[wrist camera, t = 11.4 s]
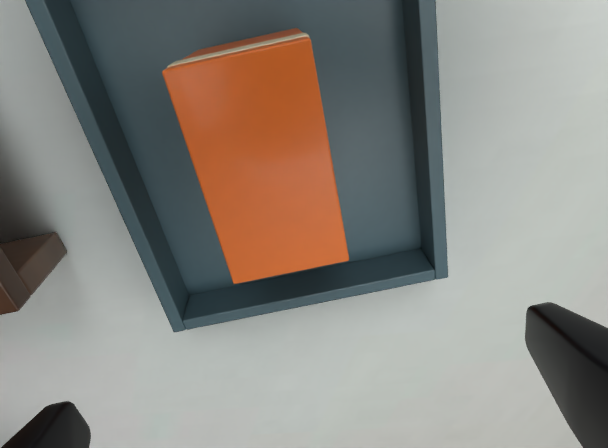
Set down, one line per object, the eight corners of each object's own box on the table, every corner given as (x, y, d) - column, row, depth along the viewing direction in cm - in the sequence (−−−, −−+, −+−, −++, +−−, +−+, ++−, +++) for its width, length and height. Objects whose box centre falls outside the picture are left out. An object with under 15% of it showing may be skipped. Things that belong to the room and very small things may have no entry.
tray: (183, 300, 22) (173, 332, 20) (33, -61, 15) (-9, -73, 13) (430, 250, 22) (448, 277, 20) (404, -148, 14) (428, -176, 12)
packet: (243, 210, 20) (232, 286, 14) (195, 49, 16) (159, 69, 11) (329, 192, 19) (350, 261, 14) (298, 26, 16) (311, 36, 11)
